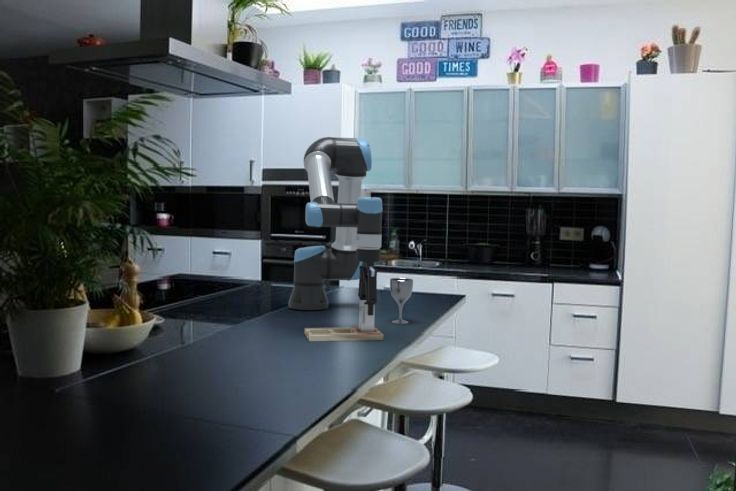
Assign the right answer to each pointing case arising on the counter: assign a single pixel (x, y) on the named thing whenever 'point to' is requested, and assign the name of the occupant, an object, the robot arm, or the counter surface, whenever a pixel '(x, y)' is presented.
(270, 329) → the counter surface
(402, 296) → the wine glass
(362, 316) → the steel peg
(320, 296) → the robot arm
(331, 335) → the hole rail
